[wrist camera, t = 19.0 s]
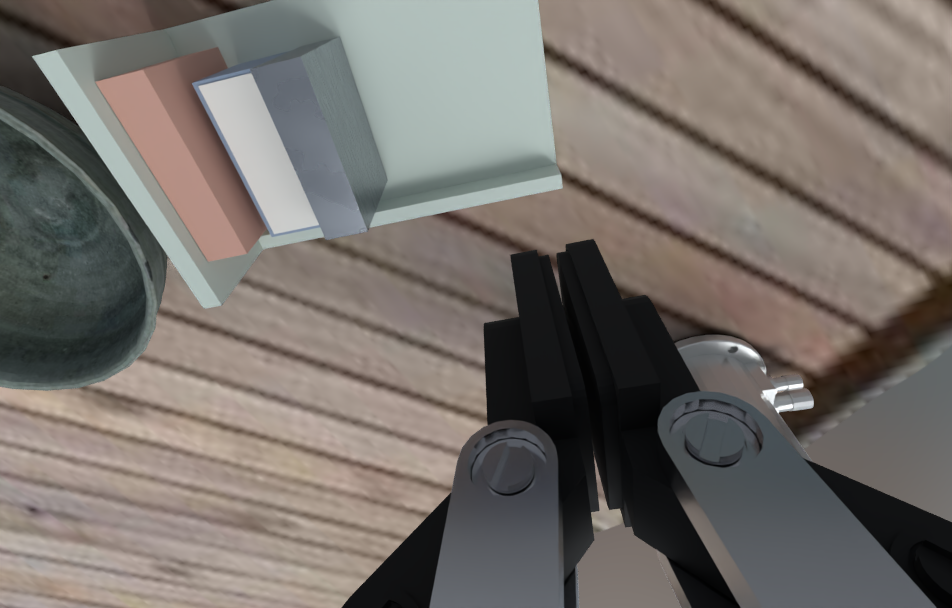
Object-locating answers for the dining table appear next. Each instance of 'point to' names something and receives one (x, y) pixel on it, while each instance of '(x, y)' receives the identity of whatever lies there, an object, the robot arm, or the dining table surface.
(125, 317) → the bowl
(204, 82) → the book
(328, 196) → the bookend
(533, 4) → the mint u-shaped tray
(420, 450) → the dining table surface
